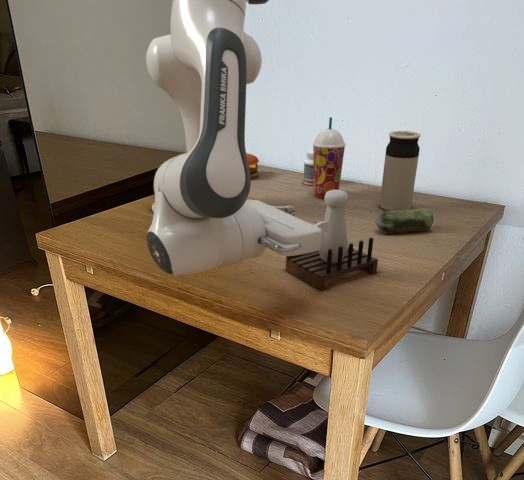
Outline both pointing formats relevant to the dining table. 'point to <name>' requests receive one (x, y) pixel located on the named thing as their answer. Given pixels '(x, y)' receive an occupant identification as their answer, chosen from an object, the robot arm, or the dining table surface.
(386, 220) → the vegetable
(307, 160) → the pill bottle
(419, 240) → the dining table surface
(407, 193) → the travel mug
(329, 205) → the salt shaker
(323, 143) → the smoothie
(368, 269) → the drying rack
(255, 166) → the hamburger
